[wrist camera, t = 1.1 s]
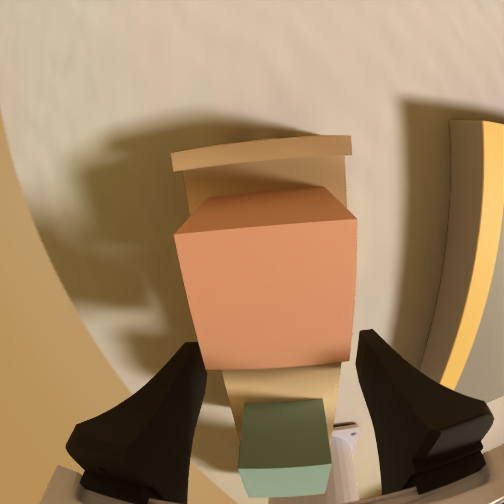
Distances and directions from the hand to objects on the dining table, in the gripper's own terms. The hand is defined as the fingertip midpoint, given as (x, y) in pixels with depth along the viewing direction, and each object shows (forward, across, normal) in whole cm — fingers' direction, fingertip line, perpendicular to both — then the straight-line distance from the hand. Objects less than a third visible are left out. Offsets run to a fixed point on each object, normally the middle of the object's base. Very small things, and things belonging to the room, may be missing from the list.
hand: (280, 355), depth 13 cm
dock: (+4, -16, 0) cm, 17 cm away
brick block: (0, 0, -5) cm, 5 cm away
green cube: (0, 0, +5) cm, 5 cm away
